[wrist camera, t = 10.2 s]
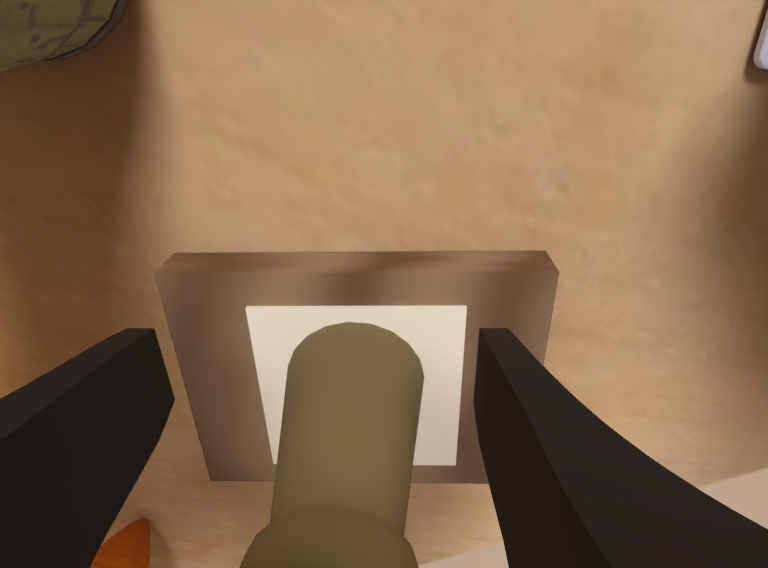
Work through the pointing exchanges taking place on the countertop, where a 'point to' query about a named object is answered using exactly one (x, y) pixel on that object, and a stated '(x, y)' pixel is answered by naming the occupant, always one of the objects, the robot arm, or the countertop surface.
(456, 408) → the walnut plinth
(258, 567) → the olive pawn piece
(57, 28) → the thermos
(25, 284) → the countertop surface
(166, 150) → the countertop surface
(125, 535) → the carrot
